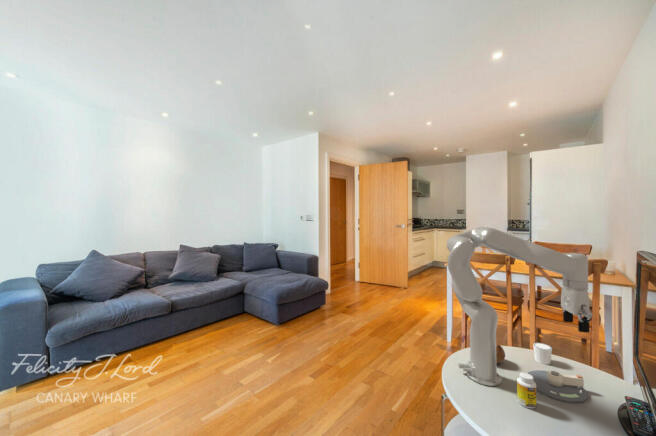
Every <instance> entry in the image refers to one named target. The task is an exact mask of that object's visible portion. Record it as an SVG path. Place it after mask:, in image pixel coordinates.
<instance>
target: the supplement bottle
mask: <svg viewBox="0 0 656 436" xmlns="http://www.w3.org/2000/svg"><path fill="white" fill-rule="evenodd" d="M527 373H528V372H527ZM527 373H526V372H520V373H519V377H517V379H516V392H517V394H516V395H517V396H516V399H517V403H518V404H520V405H521V406H523V407H524V408H527V409H536V407H537V390H536V383H535V382H534V380H533V376H532V375H530V374H527Z"/></svg>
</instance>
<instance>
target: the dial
mask: <svg viewBox="0 0 656 436" xmlns="http://www.w3.org/2000/svg"><path fill="white" fill-rule="evenodd" d="M547 371H548V370H547ZM547 371H546V370H541V369H540V370H539V369H538V370H530V371H529V372H527V374H530V375H532V376H533V380H534V382H535V383H536V392H538V393H540V394H542V395H544V396H546V397H548V398H551V399H553V400H556V401H560V402H565V403H571V404H582V403H584V402H586V401H587V400H588V392H587V390H586V389H585V387H580V386H571V385H563V387H556V386H553V385H551V384H549V383H548V382H547Z"/></svg>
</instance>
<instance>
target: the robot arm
mask: <svg viewBox="0 0 656 436" xmlns="http://www.w3.org/2000/svg"><path fill="white" fill-rule="evenodd" d="M479 247H484V248H486V249H489V250H492V251H495V252H498V253H500V254H503V255H506V256H508V257H510V258H513V259H516V260H519V261H522V262H526V263H529V264H533V265H537V266H539V267H540V268H542V269H544V270H546V271H549V272H553V273H556V274H559V275H562V287H561V293H560V307H561V308H562V321H563V323H574V316H577V318H578V321H577V326H578V327H577V331H578V332H579V333H590V323H591V320H592V317H593V313H592V312H591V310H590V300H589V299H590V297H589V293H588V292H589V257H588V256H587V255H586V254H584V253H577V252H566V253H565V252H559V251H557V250H554V249H552V248H548V247H546V246H543V245H539V244H537V243H534V242H531V241H529V240H526V239H524V238H521V237H518V236H515V235H512V234H511V233H510V234H509V233H507V232H504V231H503V230H499V229H496V228H493V227H488V226H487V227H485V226H479V227H475V228H473V229H469V230H467V231H464V232H460V233H458V234H455V235H453V236H450V237H449V238H448V239H447V242H446V249H447V250H448V252H449V254H448V258H447V269H448V271H449V274H450V275H451V278H452V281H451V288H452V290H453V293H454V295H455V297H456V299H457V300H458V302H459V305H460V306H461V308H462V310H463V311H464V313H465V314H466V315H467V316H468V317H469V318H470V319H471V323H470V327H469V352H470V353H469V355H470V360H469V361H468V362H466V363H459V362H458V364H457V365H458V368H459V369H462V372H466V375H467V376H468V377H469V379H471V380H472V381H473V382H475V383H477V384H480V385H484V386H489V387H495V386H499V385H501V383H502V378H501V374H499V373H498V372H497V364H496V343H497V327H498V319H499V318H498V317H499V316H498V313H497V311H496V309H495V308H494V307H493V306H492V305H491V304H489V303H488V302H487V301H485V300H483V298H482V297H483V289H482V287H481V284H480V283H479V281H478V280H477V277H476V275H475V273H474V272H473V269H472V267H471V263H470V262H471V258H472V257H473V256H474V253H475V250H476V248H479Z"/></svg>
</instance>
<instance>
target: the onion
mask: <svg viewBox="0 0 656 436" xmlns="http://www.w3.org/2000/svg"><path fill="white" fill-rule="evenodd" d="M505 358H506V352H505V350H504V348H503V347H502V346H501V345H500V344H499V343H497V342H496V364H501V363H502V362H504V360H505Z"/></svg>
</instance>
